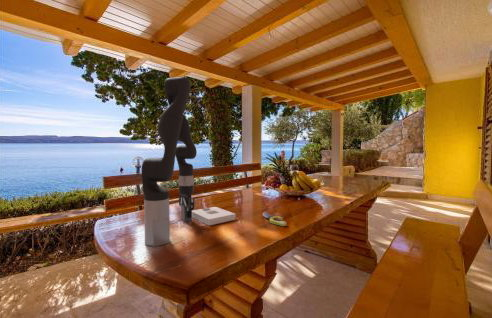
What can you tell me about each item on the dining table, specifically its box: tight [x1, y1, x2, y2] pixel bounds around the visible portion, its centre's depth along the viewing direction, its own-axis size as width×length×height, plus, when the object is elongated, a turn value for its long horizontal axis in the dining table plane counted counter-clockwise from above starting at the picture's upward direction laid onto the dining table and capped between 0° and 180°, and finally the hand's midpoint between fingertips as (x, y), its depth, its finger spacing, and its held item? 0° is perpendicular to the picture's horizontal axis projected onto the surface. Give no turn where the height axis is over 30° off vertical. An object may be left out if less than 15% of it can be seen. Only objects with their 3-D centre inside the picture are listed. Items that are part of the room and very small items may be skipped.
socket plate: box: [192, 206, 236, 226], centre depth 127 cm, size 20×16×4 cm
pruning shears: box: [262, 211, 287, 227], centre depth 124 cm, size 8×3×25 cm
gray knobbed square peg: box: [180, 203, 193, 223], centre depth 121 cm, size 4×4×10 cm
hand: (186, 216), depth 122 cm, fingers open, 6 cm apart
